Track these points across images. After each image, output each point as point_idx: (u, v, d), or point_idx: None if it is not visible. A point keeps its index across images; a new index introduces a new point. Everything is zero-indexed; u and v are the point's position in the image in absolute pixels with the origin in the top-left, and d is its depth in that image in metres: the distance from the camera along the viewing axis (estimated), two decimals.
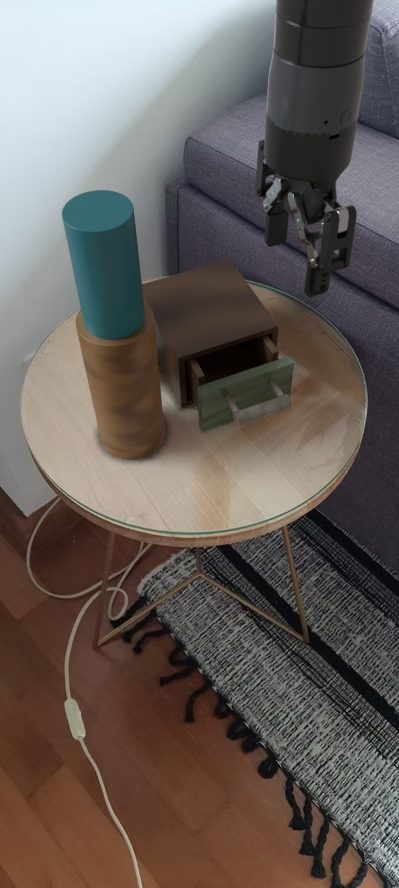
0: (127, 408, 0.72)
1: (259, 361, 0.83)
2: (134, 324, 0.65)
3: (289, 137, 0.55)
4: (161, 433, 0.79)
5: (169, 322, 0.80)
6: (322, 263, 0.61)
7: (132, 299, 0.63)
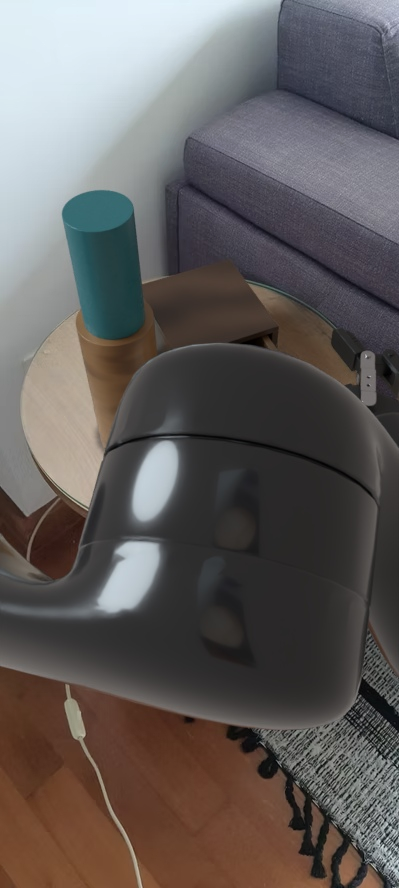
0: None
1: None
2: (134, 324, 0.65)
3: None
4: None
5: (169, 322, 0.80)
6: None
7: (132, 299, 0.63)
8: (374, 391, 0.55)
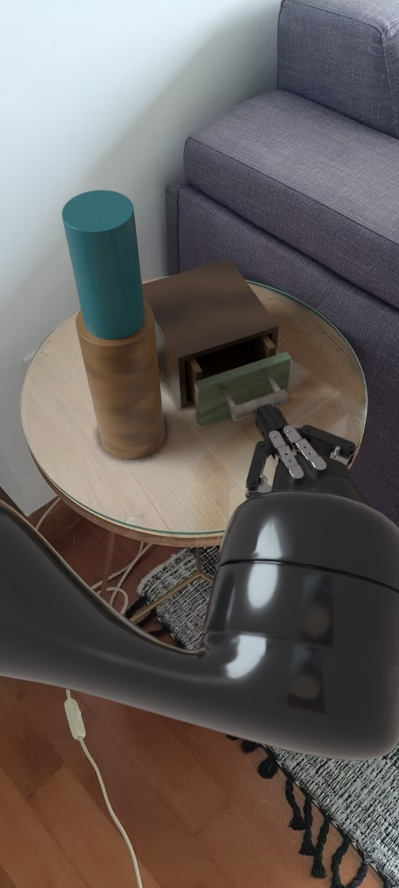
0: (127, 408, 0.72)
1: (256, 357, 0.84)
2: (134, 324, 0.65)
3: None
4: (161, 433, 0.79)
5: (169, 322, 0.80)
6: (261, 448, 0.71)
7: (132, 299, 0.63)
8: (317, 455, 0.69)
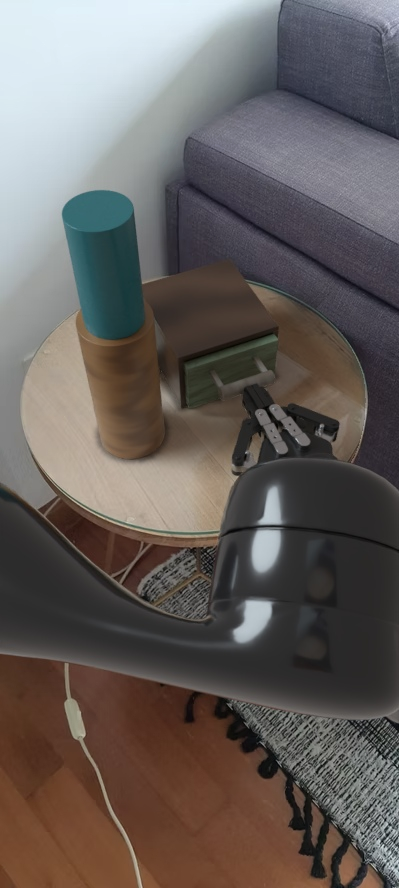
0: (127, 408, 0.72)
1: None
2: (134, 324, 0.65)
3: None
4: (161, 433, 0.79)
5: (169, 322, 0.80)
6: (247, 425, 0.72)
7: (132, 299, 0.63)
8: (302, 432, 0.71)
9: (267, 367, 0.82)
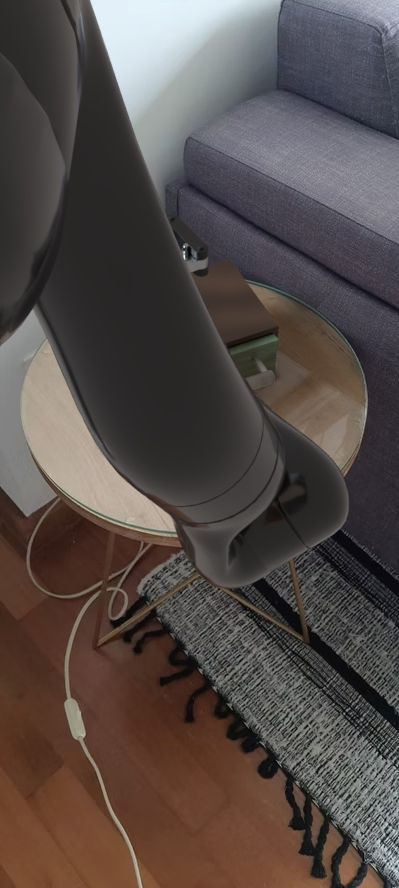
0: None
1: None
2: None
3: None
4: None
5: None
6: None
7: None
8: None
9: (267, 367, 0.82)
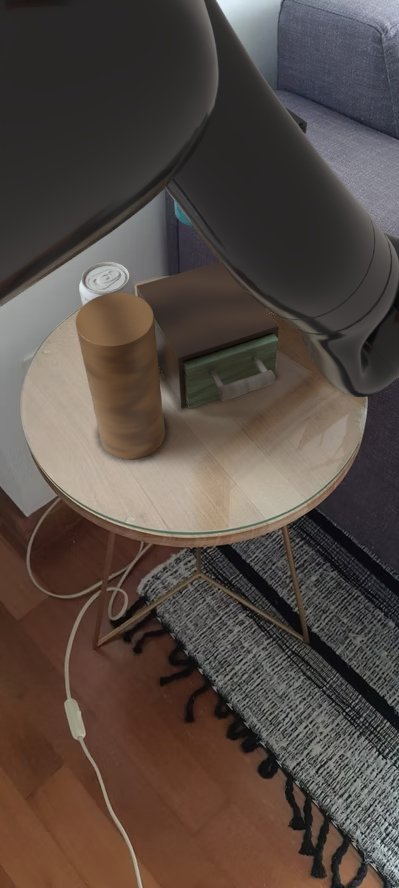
0: (127, 408, 0.72)
1: None
2: None
3: None
4: (161, 433, 0.79)
5: (169, 322, 0.80)
6: None
7: None
8: None
9: (267, 367, 0.82)
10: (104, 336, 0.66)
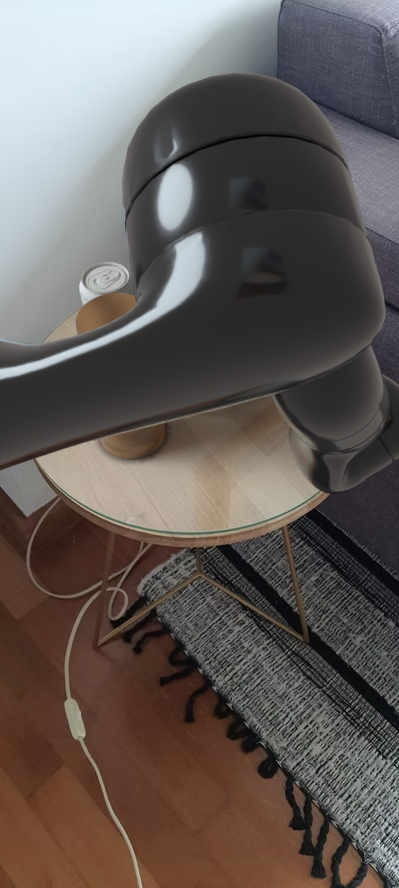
0: None
1: None
2: None
3: None
4: (161, 433, 0.79)
5: None
6: None
7: None
8: None
9: None
10: None
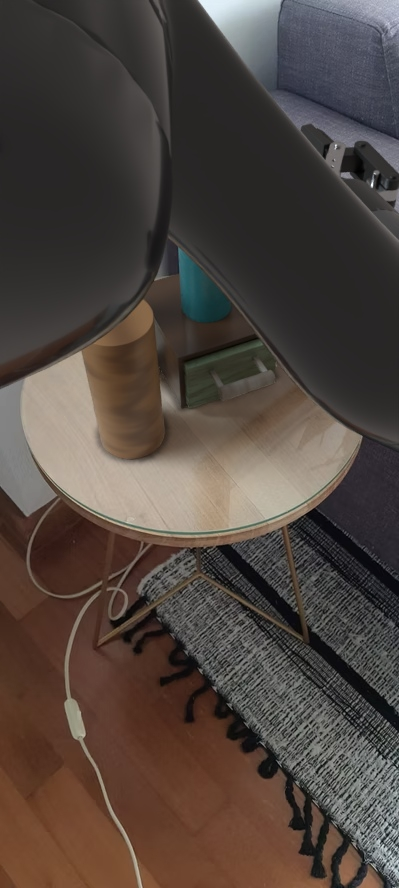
0: (127, 408, 0.72)
1: None
2: (224, 310, 0.80)
3: None
4: (161, 433, 0.79)
5: (169, 322, 0.80)
6: None
7: None
8: (337, 171, 0.50)
9: (267, 367, 0.82)
10: (104, 336, 0.66)
